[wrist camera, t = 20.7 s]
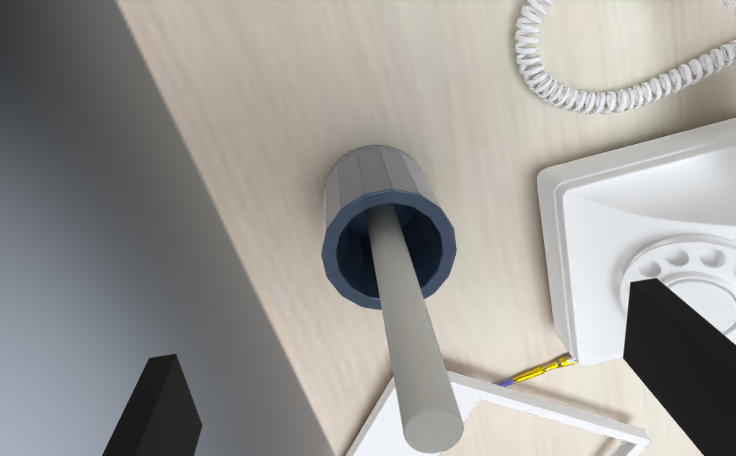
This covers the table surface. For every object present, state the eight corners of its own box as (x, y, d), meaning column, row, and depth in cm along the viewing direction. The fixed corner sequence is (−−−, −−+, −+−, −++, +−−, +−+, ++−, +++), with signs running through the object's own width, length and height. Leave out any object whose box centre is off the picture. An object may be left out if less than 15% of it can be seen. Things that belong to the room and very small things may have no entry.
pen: (647, 338, 32) (643, 336, 32) (642, 327, 32) (638, 325, 32) (439, 416, 33) (439, 412, 34) (435, 406, 34) (435, 402, 34)
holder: (315, 233, 28) (311, 300, 22) (334, 135, 26) (336, 178, 20) (412, 249, 29) (436, 318, 23) (438, 156, 27) (472, 203, 21)
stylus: (360, 211, 27) (397, 451, 13) (366, 185, 27) (412, 405, 12) (387, 215, 27) (454, 457, 13) (394, 190, 27) (472, 412, 12)
